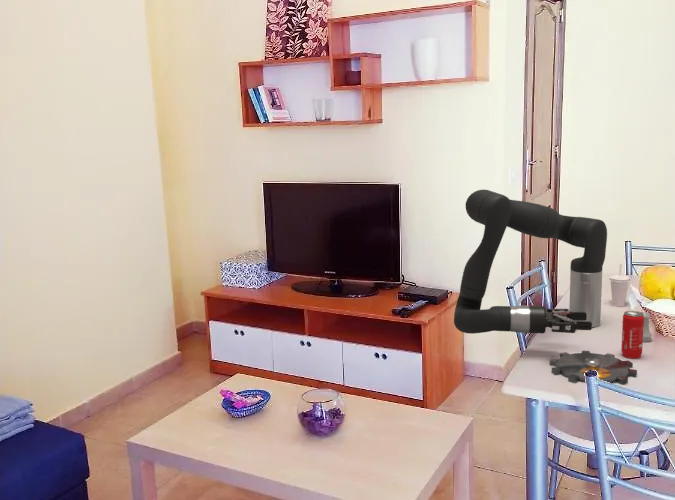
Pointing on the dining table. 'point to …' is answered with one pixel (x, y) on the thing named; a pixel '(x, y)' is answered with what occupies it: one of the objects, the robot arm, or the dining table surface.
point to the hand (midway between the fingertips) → (588, 321)
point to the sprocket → (592, 367)
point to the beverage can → (632, 334)
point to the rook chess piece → (646, 328)
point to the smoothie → (619, 288)
